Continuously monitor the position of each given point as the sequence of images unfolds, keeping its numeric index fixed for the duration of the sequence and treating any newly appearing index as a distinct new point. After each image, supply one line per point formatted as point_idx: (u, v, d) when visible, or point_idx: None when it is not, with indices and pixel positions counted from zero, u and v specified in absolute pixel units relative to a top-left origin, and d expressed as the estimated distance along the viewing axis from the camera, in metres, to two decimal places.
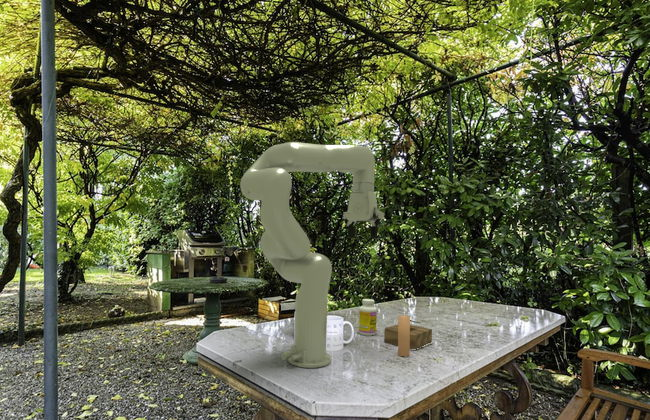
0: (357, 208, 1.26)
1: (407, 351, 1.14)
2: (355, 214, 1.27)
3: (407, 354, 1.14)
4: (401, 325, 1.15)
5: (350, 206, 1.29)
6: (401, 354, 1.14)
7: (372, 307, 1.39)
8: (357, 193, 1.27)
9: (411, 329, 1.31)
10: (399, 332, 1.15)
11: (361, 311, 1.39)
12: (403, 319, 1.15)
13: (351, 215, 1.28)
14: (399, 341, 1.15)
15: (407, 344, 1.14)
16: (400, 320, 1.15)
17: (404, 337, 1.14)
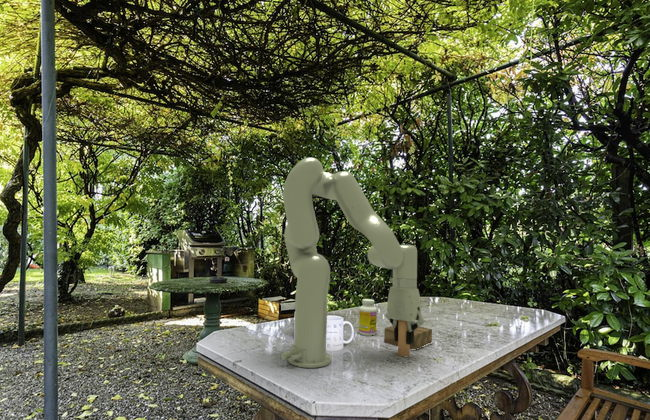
0: (399, 306, 1.15)
1: (407, 351, 1.14)
2: (396, 313, 1.15)
3: (407, 354, 1.14)
4: (401, 325, 1.15)
5: (390, 302, 1.17)
6: (401, 354, 1.14)
7: (372, 307, 1.39)
8: (398, 289, 1.15)
9: None
10: (399, 332, 1.15)
11: (361, 311, 1.39)
12: None
13: (391, 313, 1.16)
14: (399, 341, 1.15)
15: (407, 344, 1.14)
16: (400, 320, 1.15)
17: (404, 337, 1.14)
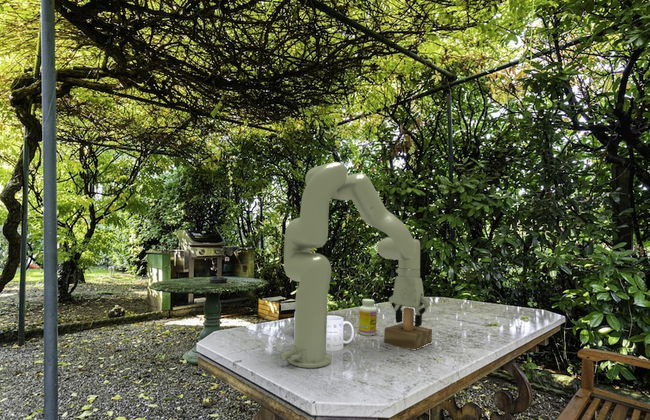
0: (404, 293, 1.28)
1: None
2: (401, 299, 1.29)
3: None
4: (406, 316, 1.28)
5: (396, 290, 1.31)
6: None
7: (372, 307, 1.39)
8: (403, 279, 1.29)
9: None
10: (404, 322, 1.29)
11: (361, 311, 1.39)
12: (408, 311, 1.28)
13: (397, 299, 1.30)
14: None
15: None
16: (405, 312, 1.29)
17: (408, 326, 1.28)
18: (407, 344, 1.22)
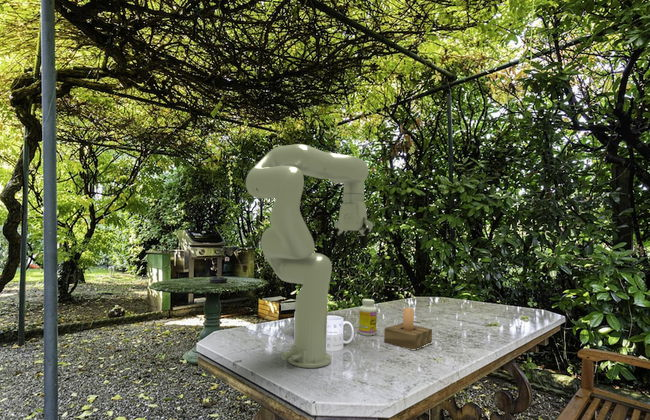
0: (347, 218, 1.30)
1: None
2: (345, 224, 1.31)
3: None
4: (406, 316, 1.28)
5: (341, 216, 1.33)
6: None
7: (372, 307, 1.39)
8: (347, 204, 1.31)
9: None
10: (404, 322, 1.29)
11: (361, 311, 1.39)
12: (408, 311, 1.28)
13: (342, 225, 1.32)
14: None
15: None
16: (405, 312, 1.29)
17: (408, 326, 1.28)
18: (407, 344, 1.22)
